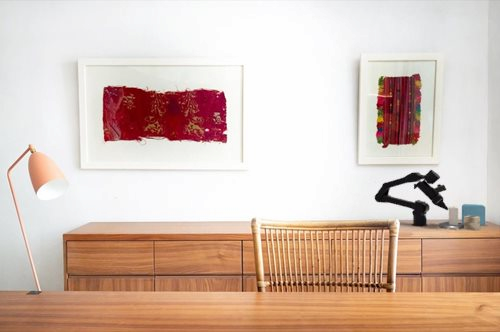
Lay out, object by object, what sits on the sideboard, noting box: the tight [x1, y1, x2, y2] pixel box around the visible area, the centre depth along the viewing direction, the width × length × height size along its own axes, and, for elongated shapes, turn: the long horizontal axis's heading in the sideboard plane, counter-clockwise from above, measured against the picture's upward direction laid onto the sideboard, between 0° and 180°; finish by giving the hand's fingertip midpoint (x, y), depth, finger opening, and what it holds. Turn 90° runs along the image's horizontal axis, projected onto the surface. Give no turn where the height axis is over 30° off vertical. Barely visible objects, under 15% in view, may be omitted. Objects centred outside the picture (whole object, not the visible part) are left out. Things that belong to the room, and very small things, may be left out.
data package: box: [461, 203, 486, 227], centre depth 253 cm, size 12×4×12 cm, turn 72°
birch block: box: [463, 216, 481, 231], centre depth 238 cm, size 6×6×7 cm
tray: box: [438, 220, 464, 230], centre depth 244 cm, size 11×11×2 cm
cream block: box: [448, 206, 459, 225], centre depth 244 cm, size 4×5×11 cm
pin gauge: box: [439, 225, 460, 230], centre depth 239 cm, size 10×2×2 cm
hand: (447, 208), depth 246 cm, fingers open, 9 cm apart
